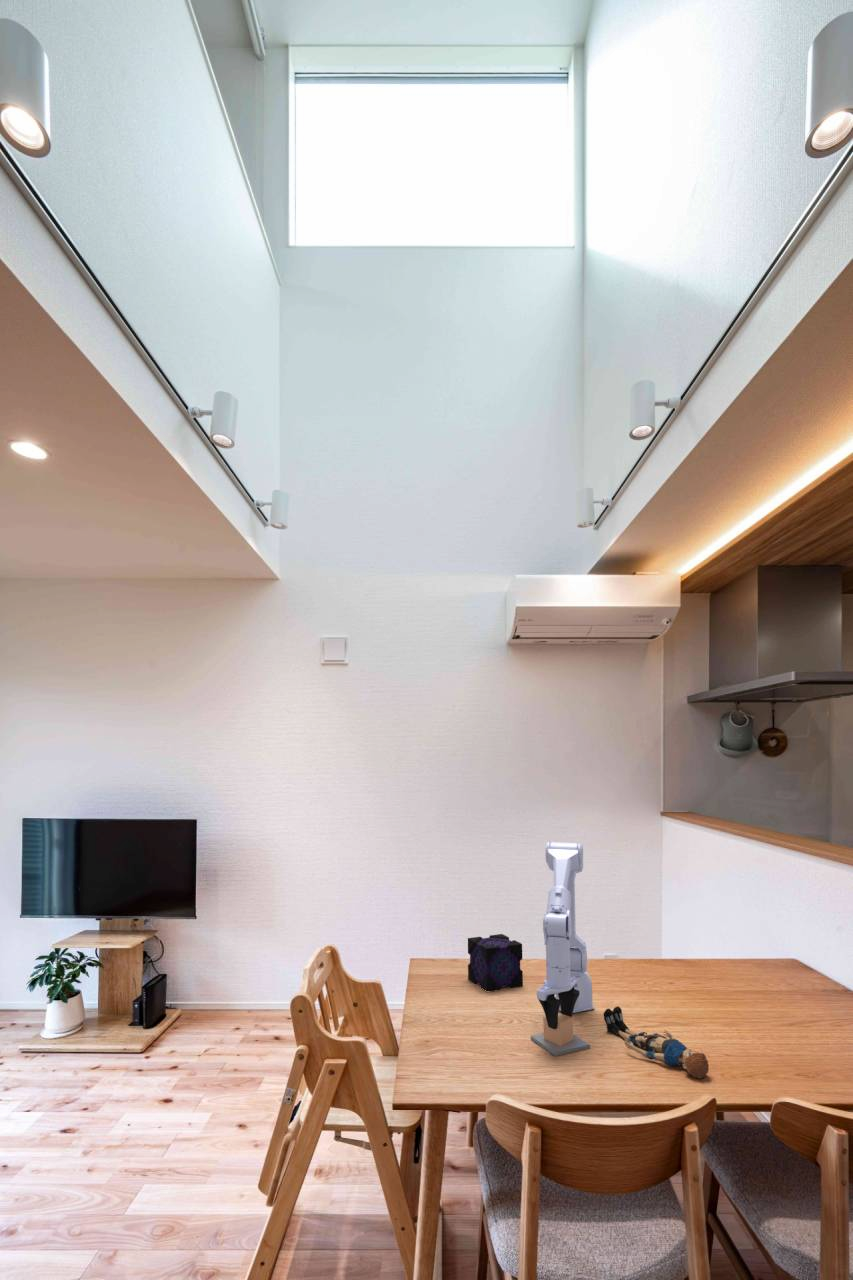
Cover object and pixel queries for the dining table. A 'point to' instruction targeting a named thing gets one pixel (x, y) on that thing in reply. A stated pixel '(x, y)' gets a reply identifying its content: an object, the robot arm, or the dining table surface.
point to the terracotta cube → (559, 1030)
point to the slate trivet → (557, 1049)
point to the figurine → (658, 1045)
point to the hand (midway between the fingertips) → (559, 1024)
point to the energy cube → (495, 962)
